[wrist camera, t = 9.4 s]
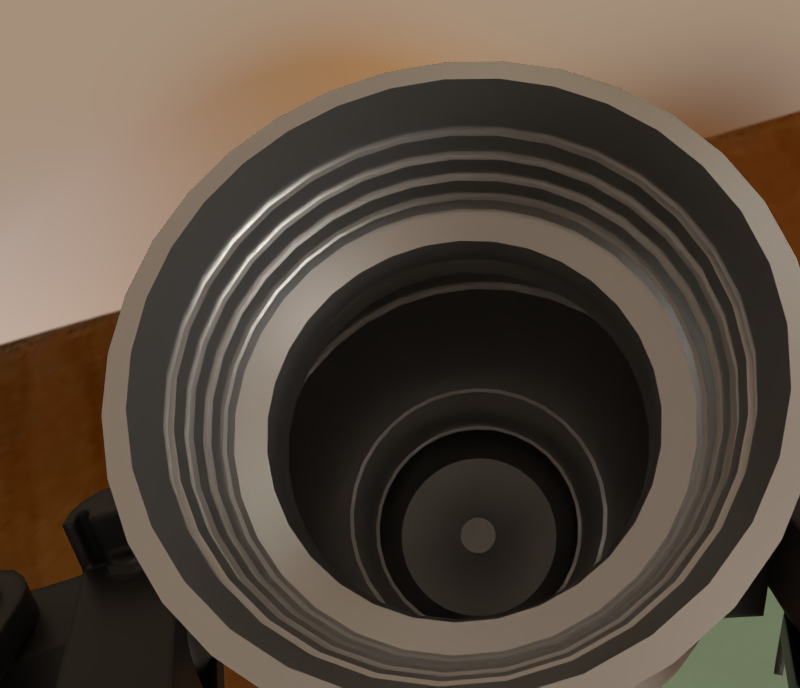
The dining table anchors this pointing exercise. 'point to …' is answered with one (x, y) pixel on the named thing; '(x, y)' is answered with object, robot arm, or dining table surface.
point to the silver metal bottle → (459, 389)
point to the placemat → (736, 653)
